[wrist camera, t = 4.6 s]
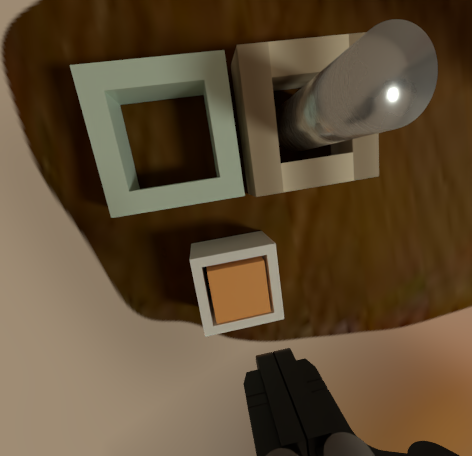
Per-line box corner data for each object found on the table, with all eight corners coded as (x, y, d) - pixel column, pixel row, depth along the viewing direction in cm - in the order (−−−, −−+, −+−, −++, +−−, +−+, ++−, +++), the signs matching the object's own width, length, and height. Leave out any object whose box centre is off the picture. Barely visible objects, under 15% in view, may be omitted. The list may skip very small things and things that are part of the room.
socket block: (349, 53, 19) (376, 31, 16) (354, 176, 21) (379, 176, 18) (230, 65, 18) (236, 44, 15) (248, 193, 20) (256, 196, 17)
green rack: (220, 70, 18) (224, 49, 15) (238, 192, 20) (244, 195, 17) (91, 84, 17) (69, 65, 14) (124, 211, 19) (111, 218, 16)
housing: (261, 230, 21) (275, 243, 17) (269, 293, 22) (284, 318, 18) (191, 243, 20) (189, 259, 16) (204, 307, 22) (205, 336, 18)
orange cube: (253, 246, 20) (264, 260, 17) (259, 289, 21) (270, 311, 18) (205, 255, 20) (206, 271, 16) (213, 299, 21) (216, 323, 17)
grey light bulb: (319, 95, 19) (439, 15, 10) (322, 148, 20) (435, 123, 11) (270, 101, 19) (345, 23, 9) (276, 154, 20) (349, 135, 10)
